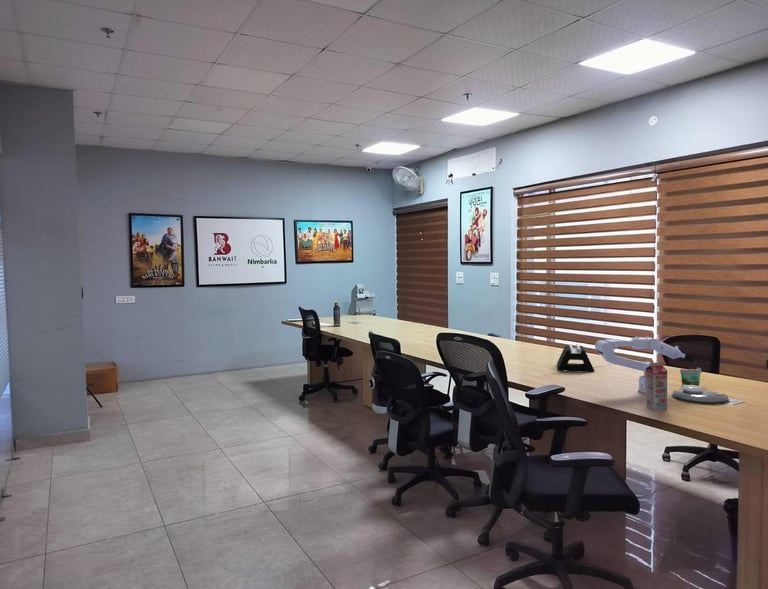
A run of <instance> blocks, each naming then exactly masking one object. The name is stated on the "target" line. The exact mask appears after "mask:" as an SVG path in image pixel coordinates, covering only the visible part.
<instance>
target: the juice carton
mask: <svg viewBox="0 0 768 589" xmlns="http://www.w3.org/2000/svg"><path fill="white" fill-rule="evenodd" d="M645 407H646V408H647V407H648V409H649V408H651V409H650V410H652V411H665V410H666V411H667V410H668V369H666V367H665V366H664V362H663V361H659V362H657V361H656V362H651V363H649V367H647V368H646V394H645Z"/></svg>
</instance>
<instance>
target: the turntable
mask: <svg viewBox="0 0 768 589" xmlns="http://www.w3.org/2000/svg"><path fill="white" fill-rule="evenodd" d="M672 394H673V396H674V397H676V398H679V399H682V400H687V401H693V402H702V403H720V402H726V401H728V399H729V396H728V395H727V394H725V393H722V392H719V391H714V390H706V389H703V393H701V394H691V393H685V392H683V388H682V389H676V390H673V391H672Z"/></svg>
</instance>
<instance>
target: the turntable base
mask: <svg viewBox="0 0 768 589" xmlns="http://www.w3.org/2000/svg"><path fill="white" fill-rule="evenodd" d="M671 397H672V398H673V399H675V400H677V401H680V402H683V403H684V402H685V403H688V404H690V403H691V404H696V405H708V406H709V405H725V404H728V403H729V402H730V398H728V401H726V402H720V403H702V402H693V401H687V400H682V399H679V398H676V397H674V396H673V393H671Z"/></svg>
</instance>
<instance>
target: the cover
mask: <svg viewBox="0 0 768 589" xmlns="http://www.w3.org/2000/svg"><path fill="white" fill-rule="evenodd" d="M703 388H704V387H702V386H700V385H699V386H695V385H684V386H683V387H682V389H683V392H685V393H691V394H701V393H703V390H704V389H703Z"/></svg>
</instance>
